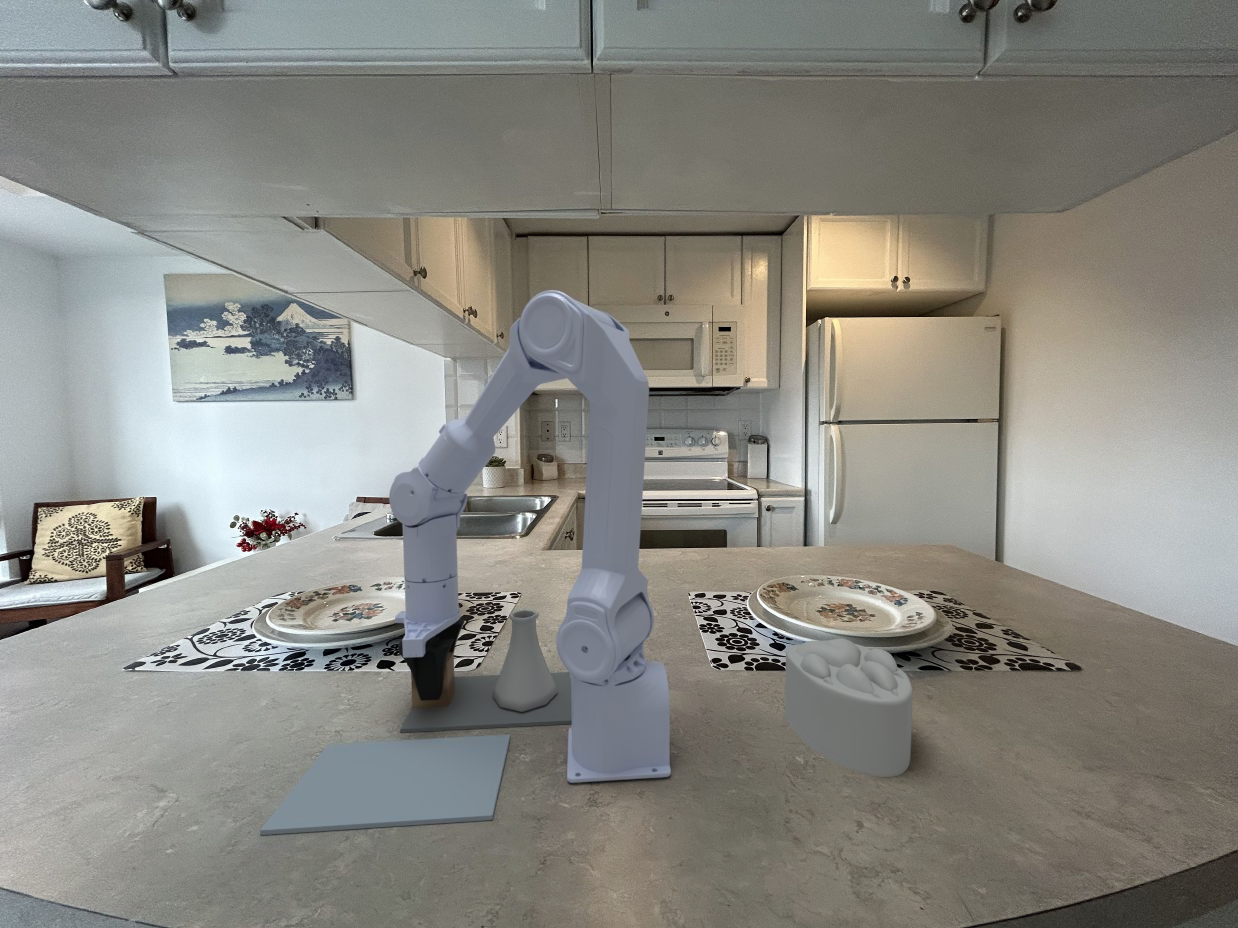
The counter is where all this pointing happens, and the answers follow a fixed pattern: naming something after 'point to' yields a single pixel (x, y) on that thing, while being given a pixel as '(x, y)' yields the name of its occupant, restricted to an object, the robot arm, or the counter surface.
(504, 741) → the slate mat
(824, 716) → the lumpy-topped squat cylinder
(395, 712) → the counter surface
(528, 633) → the flask
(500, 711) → the charcoal mat
